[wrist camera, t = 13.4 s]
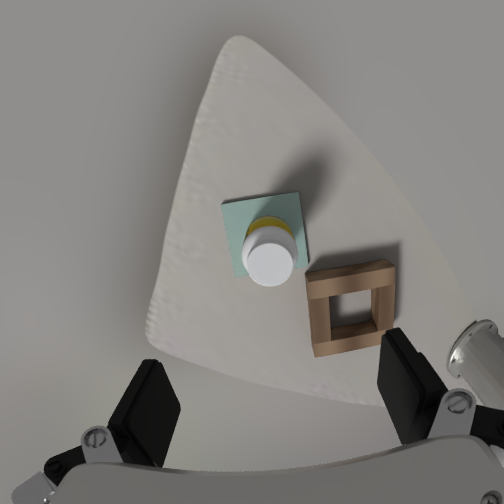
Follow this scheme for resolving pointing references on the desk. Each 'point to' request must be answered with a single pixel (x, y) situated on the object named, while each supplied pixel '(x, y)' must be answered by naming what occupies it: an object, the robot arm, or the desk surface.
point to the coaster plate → (249, 210)
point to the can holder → (347, 281)
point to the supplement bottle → (269, 250)
